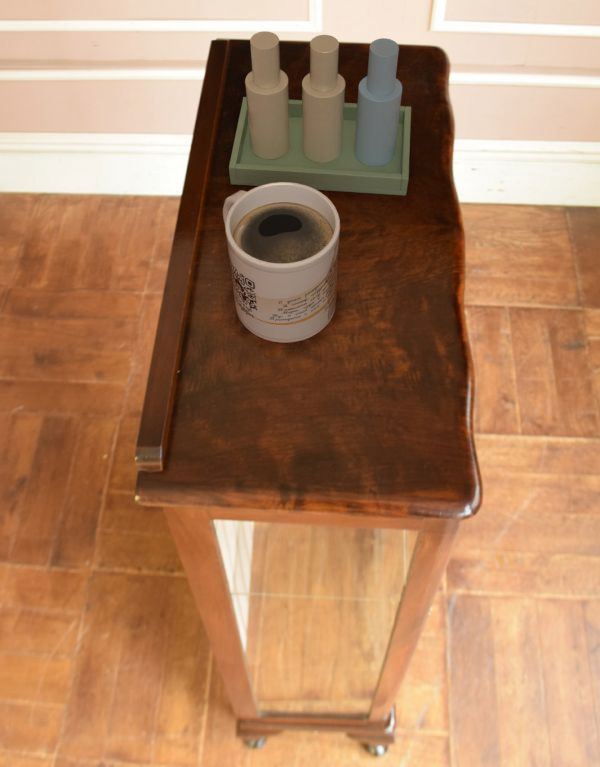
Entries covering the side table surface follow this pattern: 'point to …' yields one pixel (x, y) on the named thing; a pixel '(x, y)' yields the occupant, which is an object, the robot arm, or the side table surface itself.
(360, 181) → the tray
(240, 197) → the mug
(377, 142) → the blue bottle
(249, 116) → the cream bottle
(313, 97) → the cream bottle
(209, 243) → the side table surface
